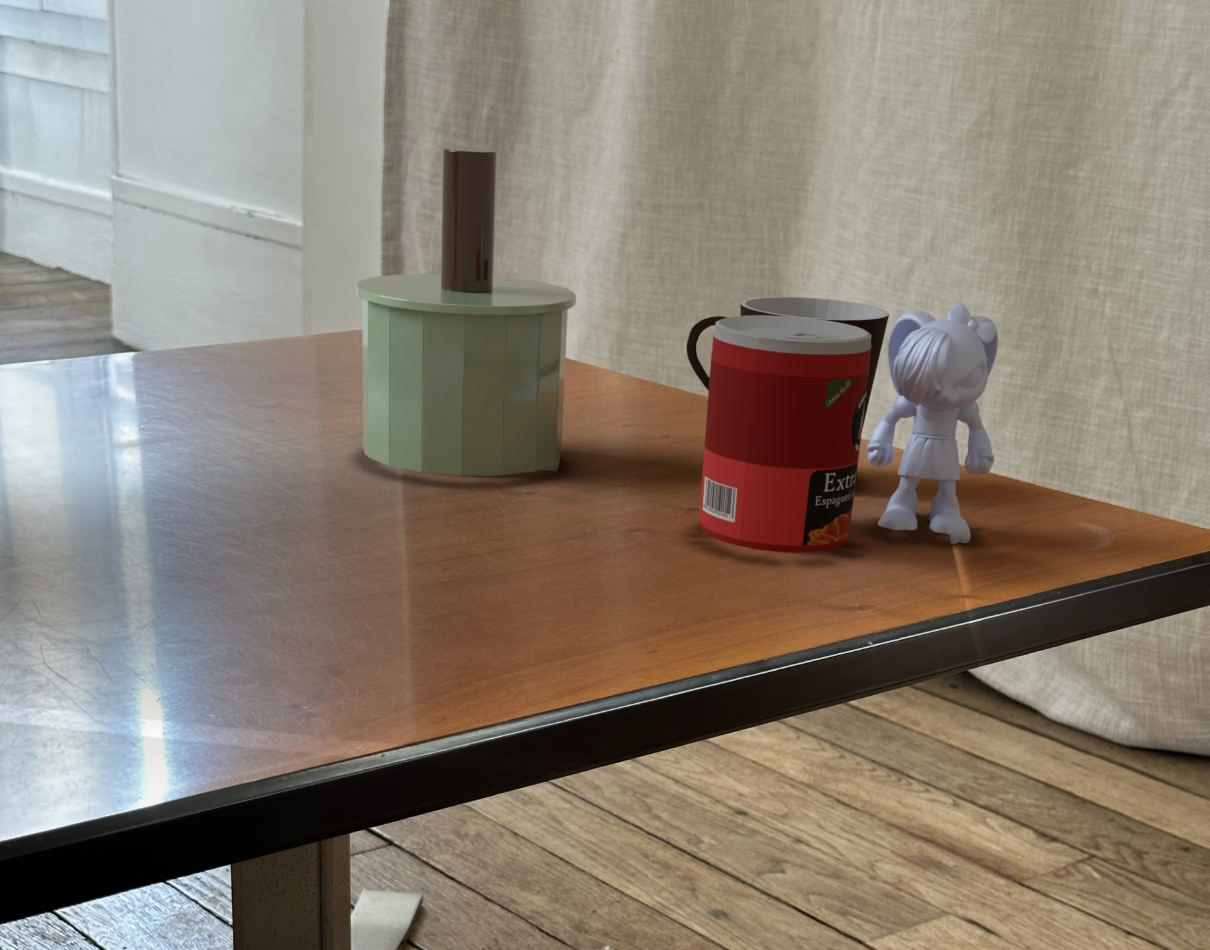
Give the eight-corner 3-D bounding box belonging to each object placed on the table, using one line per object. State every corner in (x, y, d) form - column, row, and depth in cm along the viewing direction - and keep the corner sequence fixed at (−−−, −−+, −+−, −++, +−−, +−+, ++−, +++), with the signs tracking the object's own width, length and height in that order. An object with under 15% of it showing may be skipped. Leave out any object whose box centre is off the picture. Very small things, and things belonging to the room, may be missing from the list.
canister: (342, 475, 98) (340, 304, 94) (390, 433, 108) (390, 277, 104) (542, 492, 97) (549, 320, 93) (571, 448, 107) (579, 292, 103)
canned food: (834, 570, 86) (860, 346, 81) (680, 549, 88) (696, 329, 83) (859, 534, 92) (884, 325, 88) (715, 515, 94) (732, 309, 90)
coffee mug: (898, 488, 102) (920, 316, 98) (788, 502, 98) (806, 322, 94) (775, 446, 111) (790, 287, 107) (668, 457, 107) (679, 291, 102)
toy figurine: (858, 540, 91) (886, 308, 86) (857, 510, 97) (883, 292, 92) (989, 551, 91) (1025, 318, 86) (980, 521, 96) (1013, 301, 91)
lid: (330, 315, 94) (329, 148, 90) (385, 286, 105) (386, 136, 102) (558, 333, 93) (565, 164, 89) (588, 301, 104) (596, 151, 101)
